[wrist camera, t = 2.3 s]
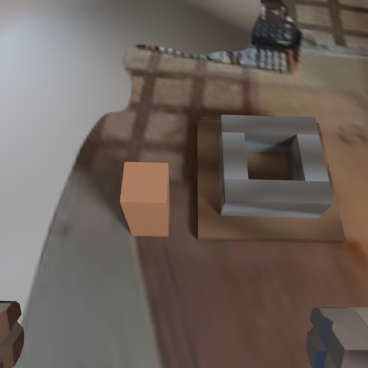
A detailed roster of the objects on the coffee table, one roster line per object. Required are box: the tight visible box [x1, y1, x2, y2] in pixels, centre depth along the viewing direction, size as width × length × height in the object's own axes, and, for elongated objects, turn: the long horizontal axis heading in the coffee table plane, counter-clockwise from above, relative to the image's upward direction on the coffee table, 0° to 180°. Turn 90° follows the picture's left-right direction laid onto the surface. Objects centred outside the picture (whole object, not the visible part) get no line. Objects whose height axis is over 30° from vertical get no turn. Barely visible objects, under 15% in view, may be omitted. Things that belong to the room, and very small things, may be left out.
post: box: [120, 162, 170, 236], centre depth 32 cm, size 4×4×9 cm
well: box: [197, 115, 345, 243], centre depth 37 cm, size 16×16×5 cm
